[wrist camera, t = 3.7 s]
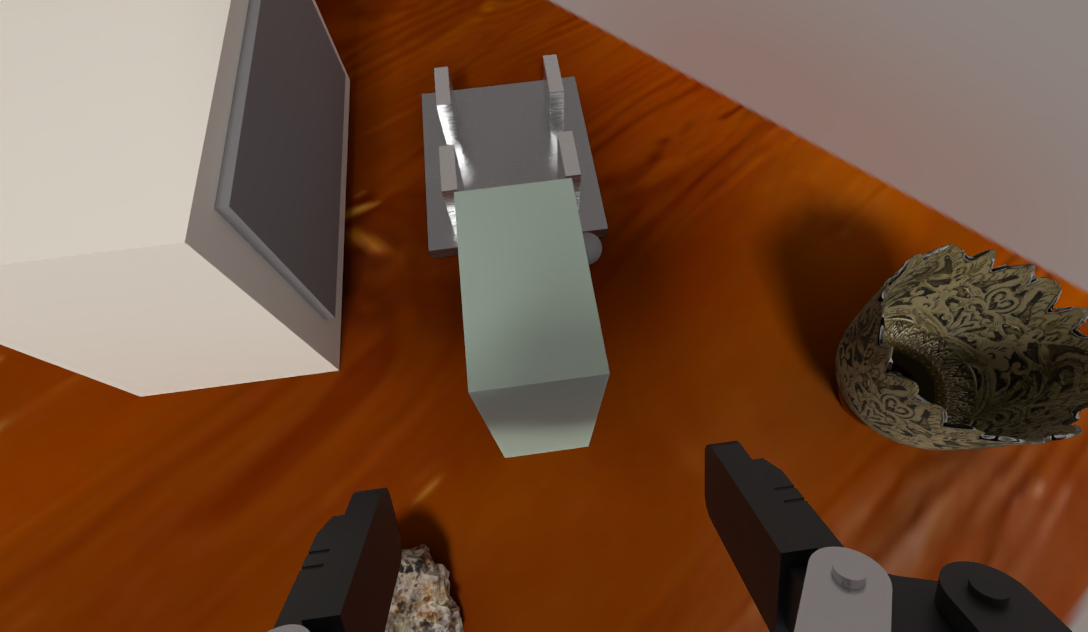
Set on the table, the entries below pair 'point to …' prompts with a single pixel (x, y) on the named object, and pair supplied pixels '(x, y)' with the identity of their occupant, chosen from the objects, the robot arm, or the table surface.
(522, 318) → the pale green rectangular box
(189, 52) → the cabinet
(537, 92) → the grey holder base
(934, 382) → the cup
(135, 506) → the table surface
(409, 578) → the mineral rock
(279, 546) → the table surface
